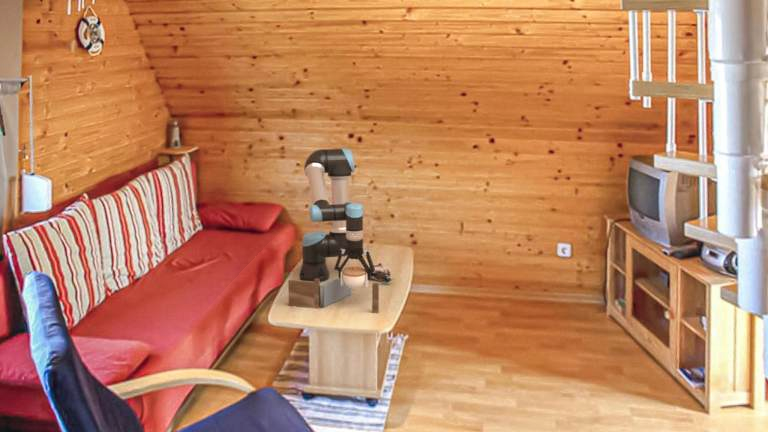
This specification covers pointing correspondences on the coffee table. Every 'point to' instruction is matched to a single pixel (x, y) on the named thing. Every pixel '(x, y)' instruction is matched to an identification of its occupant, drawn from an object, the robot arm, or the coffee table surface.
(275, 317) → the coffee table surface
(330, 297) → the door
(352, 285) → the lidded jar
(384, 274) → the decorative duck model
